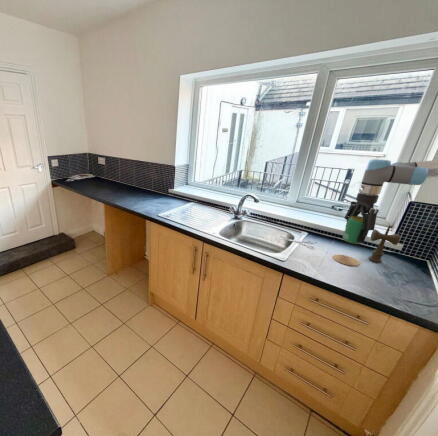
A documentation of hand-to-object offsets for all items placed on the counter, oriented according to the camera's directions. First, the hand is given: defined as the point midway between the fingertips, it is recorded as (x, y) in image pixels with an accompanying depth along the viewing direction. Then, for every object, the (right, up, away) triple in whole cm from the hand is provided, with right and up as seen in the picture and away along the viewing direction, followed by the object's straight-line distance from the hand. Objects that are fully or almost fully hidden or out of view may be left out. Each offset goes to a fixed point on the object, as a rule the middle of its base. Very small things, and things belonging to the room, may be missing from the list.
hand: (353, 237), depth 121 cm
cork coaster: (0, -12, +4) cm, 13 cm away
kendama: (+15, -12, +5) cm, 20 cm away
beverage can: (0, -2, +1) cm, 2 cm away
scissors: (-14, -5, +23) cm, 27 cm away
